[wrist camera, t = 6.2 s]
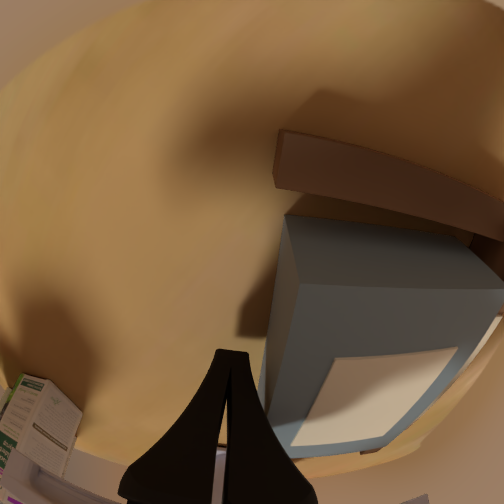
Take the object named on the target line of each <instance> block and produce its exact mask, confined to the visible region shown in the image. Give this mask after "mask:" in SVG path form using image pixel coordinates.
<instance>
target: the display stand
mask: <svg viewBox="0 0 504 504" xmlns="http://www.w3.org/2000/svg"><path fill="white" fill-rule="evenodd" d="M272 174H273V178H274V182H275V187H276V188H279V189H285V190H291V191H298V192H304V193H309V194H315V195H321V196H326V197H332V198H337V199H342V200H347V201H352V202H357V203H362V204H366V205H371V206H375V207H380V208H384V209H389V210H393V211H397V212H401V213H405V214H409V215H413V216H417V217H421V218H425V219H429V220H432V221H436V222H440V223H443V224H447V225H450V226H454V227H457V228H460V229H464V230H467V231H470V232H474V233H475V236H474V238H473V241H472V243H471V246H470V248H469V249H470V250H471V251H472V252H473V253H474V254H475V255H476V256H478V257H479V258H480V259H481V260H482V261H483V262H484V263H485V264H486V265H487V266H488V267H489V268H490V269H491V270H492V271H493V272H494V273H495V274H496V275H497V276H498V277H499V278H500V279H501V280H502V281H503V282H504V202H503V201H501V200H499V199H497V198H495V197H493V196H491V195H489V194H487V193H485V192H483V191H481V190H479V189H477V188H474V187H472V186H470V185H468V184H466V183H463V182H461V181H459V180H456V179H454V178H452V177H449V176H447V175H444V174H442V173H439V172H437V171H434V170H432V169H429V168H426V167H424V166H421V165H418V164H415V163H412V162H410V161H407V160H404V159H401V158H398V157H394V156H391V155H388V154H385V153H382V152H378V151H375V150H371V149H368V148H364V147H360V146H357V145H353V144H349V143H345V142H341V141H337V140H332V139H328V138H323V137H319V136H314V135H309V134H304V133H298V132H293V131H287V130H281V129H279V134H278V140H277V147H276V153H275V159H274V166H273V172H272ZM503 313H504V303H503V305H502V307H501V308H500V310H499V312H498V314H497V315H496V317H495V319H494V321H493V322H492V324H491V326H490V327H489V329H488V330H487V332H486V334H485V335H484V337H483V338H482V340H481V341H480V343H479V344H478V346H477V347H476V349H475V350H474V351H473V353H472V354H471V356H470V357H469V358H468V360H467V361H466V363H465V364H464V365H463V366H462V368H461V369H460V370H459V372H458V373H457V374H456V375H455V377H454V378H453V379H452V380H451V382H450V383H449V384H448V385H447V386H446V387H445V389H444V390H443V391H442V392H441V393H440V394H439V395H438V397H437V398H436V399H435V400H434V401H433V402H432V403H431V404H430V405H429V406H428V407H427V408H426V409H425V410H424V411H423V413H422V414H421V415H420V416H419V417H418V418H416V419H415V420H414V421H413V422H412V423H411V424H410V425H409V426H408V427H407V428H406V429H408V428H409V427H410V426H411V425H412V424H413V423H414V422H415V421H417V420H418V419H419V418H420V417H421V416H422V415H423V414H424V413H425V412H426V411H427V410H428V409H429V408H430V407H431V406H432V405H433V404H434V403H435V402H436V401H437V400H438V399H439V398H440V397H441V396H442V395H443V394H444V393H445V392H446V391H447V390H448V389H449V388H450V387H451V385H452V384H453V383H454V382H455V381H456V380H457V379H458V377H459V376H460V375H461V374H462V373H463V372H464V370H465V369H466V368H467V367H468V365H469V364H470V363H471V362H472V360H473V359H474V358H475V357H476V355H477V354H478V353H479V351H480V350H481V348H482V347H483V346H484V344H485V343H486V342H487V340H488V339H489V337H490V336H491V334H492V333H493V331H494V330H495V328H496V327H497V325H498V324H499V322H500V320H501V319H502V317H503V316H502V315H503ZM406 429H405V430H406ZM381 448H383V447H380V448H375V449H370V450H365V451H360V455H362V454H368V453H374V452H377V451H379V450H380V449H381Z"/></svg>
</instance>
